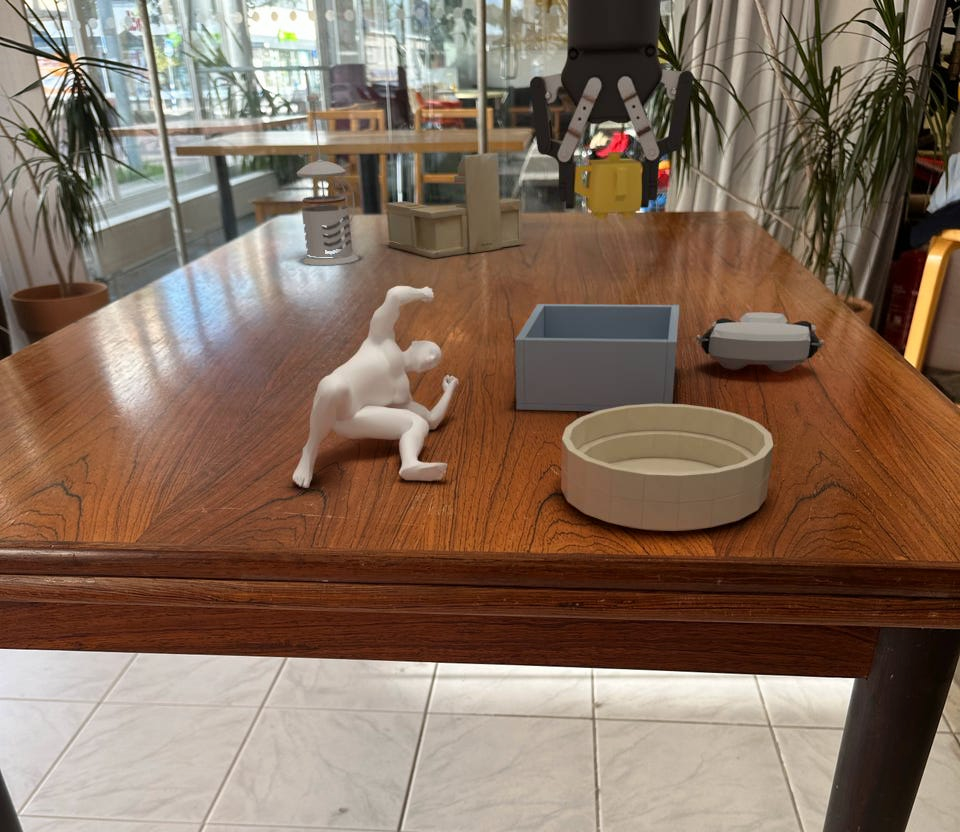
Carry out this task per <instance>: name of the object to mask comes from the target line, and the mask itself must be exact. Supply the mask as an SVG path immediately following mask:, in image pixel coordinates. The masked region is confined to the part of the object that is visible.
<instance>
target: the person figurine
mask: <svg viewBox="0 0 960 832" xmlns="http://www.w3.org/2000/svg"><path fill="white" fill-rule="evenodd" d="M434 294H435V293H434V292H433V288H430V287H429V286H424V287H422V288H415V287H412V286H409V285H396V286H394V287H392V288H390V289H388V290H387V292H386V295H385V300H384V302H383V303H382V304H381V306H380V307H378V308H377V309H376V310H375V311H374V313H373V316H372V318H371V320H370V322H369V331H368V333H367V334H368V335H367V338H366V339H365V340H364V341H363V342H362V343H361V345H360V347H359V349H358V350H357V352H356V353H355V354H354V355H353V356H351V358H349V359H348V360H347V361H346V362H345V363H343V364H341V365H340V366H338V367H337V368H335V369H334V370H333V371H332V372H331V373H330V374H328V375H326V376H324V377H323V378H322V379H320V381H319V383H318V385H317V389H316V391H315V394H314V397H313V400H312V410H311V412H310V416H309V436H308V439H307V442H306V444H305V445H304V446H303V448H302V455H301V458H300V460H299V462H298V465H297V466H296V469H295V470H294V471H293V473H292V481H293V482H294V483H295V484H296V485H298V486H299V487H300V488H301V487H302V488H304V489H308V488H310V484H311V481H312V480H313V473H314V467H315V463H316V460H317V457H318V456H319V455H318V454H319V447H320V445H321V443H322V442H323V440H324V439H325V437H326V436H327V435H328V433H329V432H330V431H331V430H333V431H334V432H335V433H336V435H337V436H339V437H341V438H345V439H349V440H361V439H362V440H363V439H377V440H387V441H388V440H389V441H395V440H399V442H398V447H399V456H400V460H401V467H400V469H399V471H398V474H399V476H400V477H401V478H402V479H404V480H405V481H427V482H432V481H438V480H440V481H441V480H442V478H443V477H444V475H445V476H446V474H447V473H446V472H447V468H448V463H445V462H422V461H420V460H419V458H418V457H419V455H420V453H421V451H422V449H423V448H424V442H425V438H427V436H428V435H429V431H432V430H436V429H437V427H438V426H439V425H440V424H441V423H442V421H443V420H444V418H445V417H446V416H445V415H446V413H447V410H448V408H449V405H450V402H451V399H452V397H453V394H454V392H455V390H456V387H458V384H459V379H458V378H457V377H455V376H454V375H451V376H450V375H449V374H447V375H445V376H444V377H443V380H442V383H441V386H442V391H443V395H442V396H441V398H440V399H439V400H438V402H437V403H436V405H434V406H433V408H432V409H431V410H429V409H428V408H427V407H426V406H424V405H423V404H420V403H418V402H416V401H414V398H413V396H412V394H411V391H410V381H409V377H408V375H407V374H408V373H410V372H415V373H416V374H420V373H422V372H423V373H424V372H428V371H430V370H431V369H434V368H435V367H437V366H438V365H440V363H441V361H442V355H443V354H442V350H441V348H440V347H439V345H438V344H437V343H436V342H434V341H430V340H424V339H423V340H413V341H411V345H409V347H408V348H407V349H406V350H405V351H402V349H401V348H400V347H399V345H398V343H397V342H396V333H395V330H394V326H395V324H396V323H397V321H398V320H399V317H400V316H401V307H403V306H405V305H407V304H410V303H412V302H417V301H422V302H425V303H427V302H428V303H430V302H432V301H433V300H434V299H435V296H434ZM447 381H448V382H447Z"/></svg>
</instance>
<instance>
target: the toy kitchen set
mask: <svg viewBox="0 0 960 832" xmlns="http://www.w3.org/2000/svg"><path fill="white" fill-rule="evenodd" d="M499 169H500V168H499V153H498V152H487V153H486V152H485V153H477V154H467V155H466V154H465V155H462V157H461V160H460V162H459V165H458V167H457V175H454V177H453V181H454V183H464V185H465V201H466V203H463V204H457V205H455V206H454V205H453V206H452V205H450V206H449V205H446V206H445V205H444V206H443V205H442V206H430V205H425V204H422V203H421V204H420V203H415V202H410V201H406V200H405V201H394V202H387V203H386V217H387V218H386V219H387V229H388V230H387V231H388V240H390V241H394V242H398V243H402V244H406V245H410V246H413V247H410V246H406V245H402V244H398V243H394V242H390V241H389V247H391V248H393V249H397V250H401V251H405V252H409V253H412V254H415V255H418V256H422V257H427V258H431V259H439V258H445V257H450V256H457V255H464V254H476V253H482V252H489V251H496V250H501V249H502V248H508V247H514V246H521V245H522V244H523V230H522V229H523V227H522V225H523V224H522V199H517V198H503V199H500V175H499V174H500V173H499V172H500V171H499ZM414 247H415V248H414ZM419 247H422V248H426V249H429V250H426V249H421V248H419ZM430 250H431V251H430Z"/></svg>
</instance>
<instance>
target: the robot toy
mask: <svg viewBox="0 0 960 832" xmlns="http://www.w3.org/2000/svg"><path fill="white" fill-rule="evenodd" d="M788 322H789V320H788V319H787V317H786V316H785V315H784V314H783V313H778V312H764V311H763V312H761V311H759V312H756V311H755V312H754V311H753V312H745V313H744V314H743V315H742V316H741V317H740V318H739V321H737V322H736V321H734V320H732V319H729V318H726V317H721V318H718V319H716V320H715V321H713V322H712V323H711V328H709V329H708V330H707V331H706V332H705V333H704V334H703V335H702V337H701V335H700V334H697V335H696V341H698V344H699V345H700V344H701V346H700V347H701V348H702V350H703V351H704V353H705V354H707V355H709V358H710V359H711V360H714V361H718V364H719V365H721V366H722V367H723V368H724V369H727V370H730V371H736V370H741V369H743V368H745V367H746V366H748V365H764V366H765V367H767V368H768V369H769V370H770V371H773V372H777V373H783V372H788V371H790V370H792V369H794V368H795V367H796V366H797V365H798V364H805V362H806V360H807V359H812V358H813V356H815V354H816V353H818V352H819V349H822V348H823V345H824V341H825V340H824V339H819V337H818V336H817V334H816V333H815V332H816V330H817V325H813V324H812V323H811V322H810V321H808V320H800V321H796V322H793V323H788Z"/></svg>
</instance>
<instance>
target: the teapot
mask: <svg viewBox="0 0 960 832" xmlns="http://www.w3.org/2000/svg"><path fill="white" fill-rule="evenodd" d="M607 156H608V159H589V160H588V161H587V162H588V163H587V164H585V165H576V167H575V175H574V192H576V194H577V195H580V196H582V197H584V198H585V200H584V201H585V207H586V209H588V211H591V212H590V214H589V215H590V216H591V217H595V218H594V219H595V220H597V221H600V220H601V221H602V220H603V221H604V220H607V219H608V213H616V214H617V215H621V216H622V219H635V215H634V213H633V212H640V211H641V208H640V207H641V201H642V163H641V162H640V161H638V160H636V159H633V158H621V157H622V152H621V151H609V152H608V153H607ZM584 172H585V173H586V178H585V179H586V180H585V186H584V179H583V178H584V177H583V176H584V175H583V173H584Z"/></svg>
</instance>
